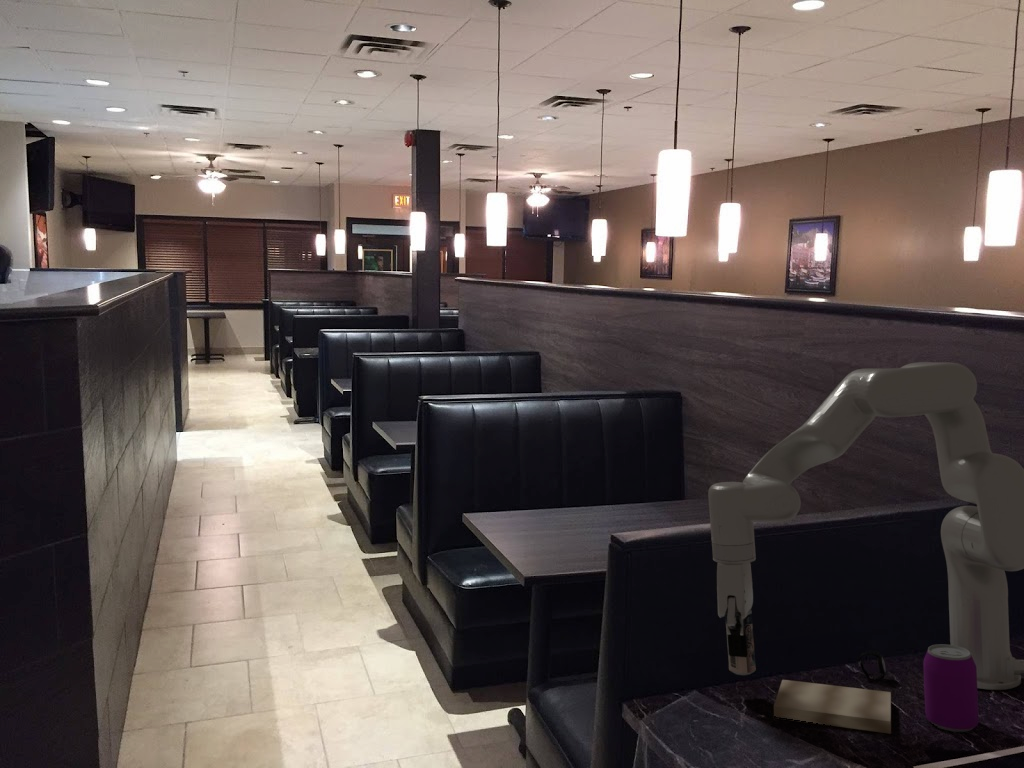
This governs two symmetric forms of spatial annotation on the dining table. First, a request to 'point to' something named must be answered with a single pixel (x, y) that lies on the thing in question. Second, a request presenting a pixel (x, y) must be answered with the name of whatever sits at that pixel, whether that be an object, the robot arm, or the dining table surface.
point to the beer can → (747, 663)
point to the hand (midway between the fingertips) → (740, 649)
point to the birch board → (834, 705)
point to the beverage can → (950, 688)
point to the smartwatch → (879, 659)
